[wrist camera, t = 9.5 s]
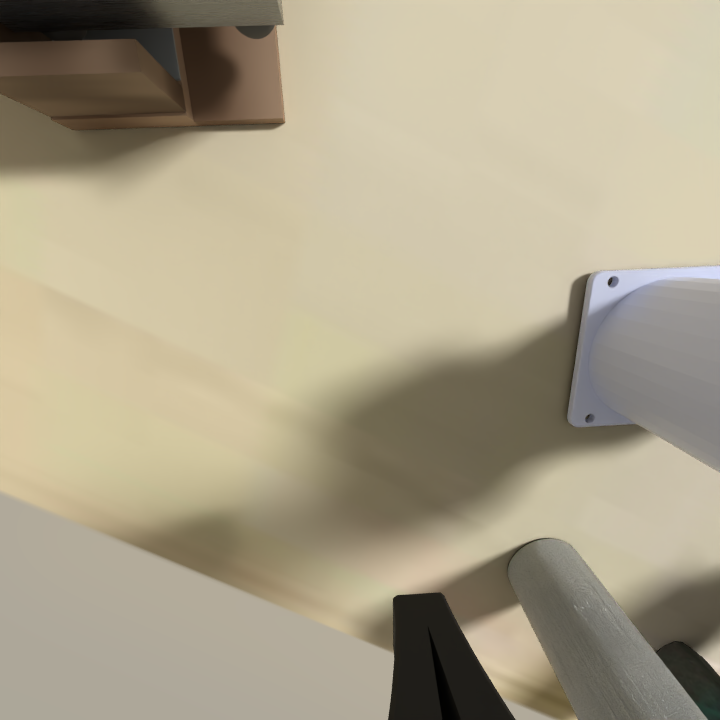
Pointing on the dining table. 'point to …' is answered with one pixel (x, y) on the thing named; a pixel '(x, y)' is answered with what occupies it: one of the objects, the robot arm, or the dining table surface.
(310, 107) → the dining table surface
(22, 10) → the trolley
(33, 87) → the dock
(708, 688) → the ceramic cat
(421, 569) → the dining table surface
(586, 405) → the robot arm
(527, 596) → the grey cylinder
